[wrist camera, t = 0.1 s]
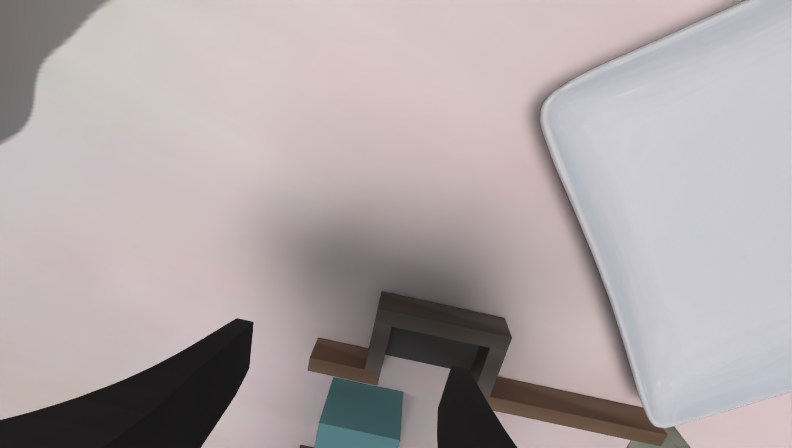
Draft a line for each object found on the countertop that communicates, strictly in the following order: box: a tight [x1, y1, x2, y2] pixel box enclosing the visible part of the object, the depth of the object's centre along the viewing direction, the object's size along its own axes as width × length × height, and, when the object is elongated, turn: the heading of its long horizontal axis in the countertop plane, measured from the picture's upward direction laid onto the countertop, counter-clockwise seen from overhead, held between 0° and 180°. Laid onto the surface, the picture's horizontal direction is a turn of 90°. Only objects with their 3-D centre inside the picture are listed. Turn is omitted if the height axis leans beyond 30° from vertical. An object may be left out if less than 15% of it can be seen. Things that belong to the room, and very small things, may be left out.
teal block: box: [315, 377, 403, 448], centre depth 25 cm, size 5×5×4 cm
